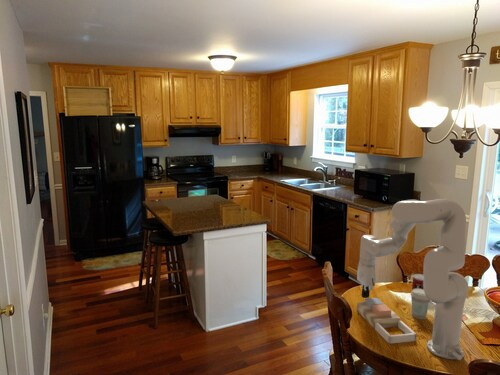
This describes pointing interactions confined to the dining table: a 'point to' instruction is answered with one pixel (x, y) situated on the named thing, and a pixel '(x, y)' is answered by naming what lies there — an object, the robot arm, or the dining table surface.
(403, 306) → the dining table surface
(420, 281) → the canned food
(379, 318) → the birch plate
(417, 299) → the coffee cup
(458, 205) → the robot arm
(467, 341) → the dining table surface
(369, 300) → the tile slate
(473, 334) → the dining table surface
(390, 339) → the box
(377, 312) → the tile terracotta
